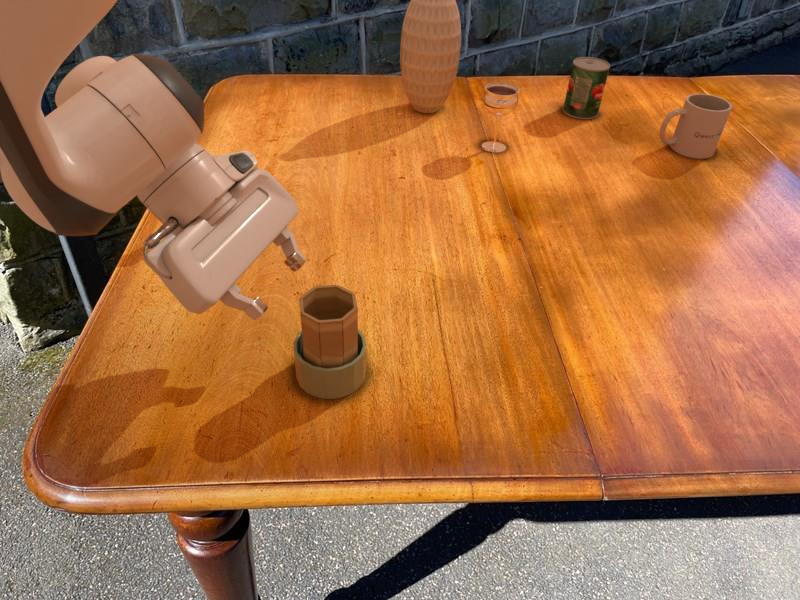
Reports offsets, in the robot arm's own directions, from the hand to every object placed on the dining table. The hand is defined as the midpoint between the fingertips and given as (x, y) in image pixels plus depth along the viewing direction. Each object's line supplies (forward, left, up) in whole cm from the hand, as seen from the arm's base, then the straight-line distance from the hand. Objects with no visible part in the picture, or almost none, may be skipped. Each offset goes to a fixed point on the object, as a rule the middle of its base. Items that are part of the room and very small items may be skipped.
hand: (282, 289), depth 73 cm
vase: (+77, +29, -12) cm, 83 cm away
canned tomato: (+98, +1, -12) cm, 98 cm away
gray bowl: (+2, -6, -12) cm, 13 cm away
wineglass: (+70, +8, -12) cm, 71 cm away
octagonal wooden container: (+2, -6, -11) cm, 13 cm away
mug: (+95, -23, -12) cm, 98 cm away
